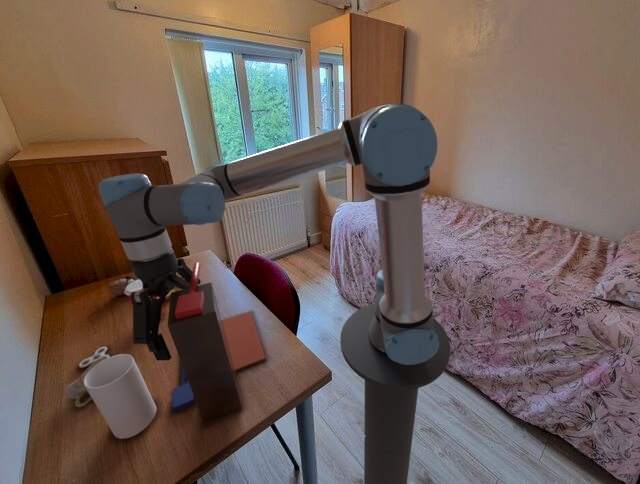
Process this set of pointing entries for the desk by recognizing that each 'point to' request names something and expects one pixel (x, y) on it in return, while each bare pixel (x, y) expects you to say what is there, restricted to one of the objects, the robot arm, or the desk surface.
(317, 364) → the desk surface
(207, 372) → the stand
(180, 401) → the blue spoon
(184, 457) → the desk surface
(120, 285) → the anime character
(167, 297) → the yellow square tray
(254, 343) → the mat
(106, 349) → the fidget spinner
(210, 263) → the desk surface
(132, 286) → the paper cup
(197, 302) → the red spatula
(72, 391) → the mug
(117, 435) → the cup
